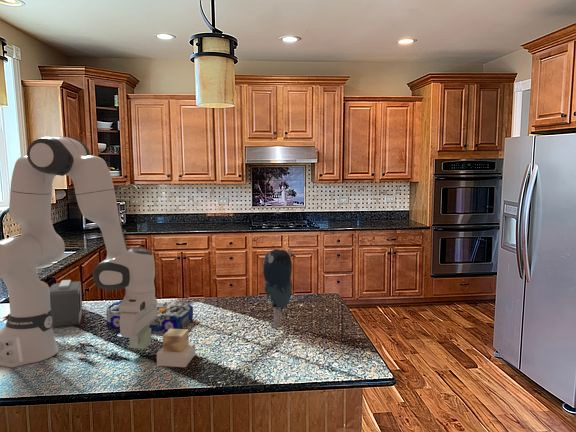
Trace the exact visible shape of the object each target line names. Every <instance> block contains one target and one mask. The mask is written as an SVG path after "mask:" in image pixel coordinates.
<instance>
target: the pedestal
mask: <svg viewBox="0 0 576 432" xmlns="http://www.w3.org/2000/svg"><path fill="white" fill-rule="evenodd" d="M195 355H196V343H195V342H189V345H188V346H187V347H186V348H185V349H184V351H183V352H167V351H163V346H162V347H161V348H160V349H159V350H158V351H157V352H156V366H158V367H160V366H161V367H176V368H186V367H187V366H188V365H189V363H190V362H191V361H192V359H193V358H194V357H195Z"/></svg>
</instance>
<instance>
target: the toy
mask: <svg viewBox="0 0 576 432" xmlns="http://www.w3.org/2000/svg"><path fill="white" fill-rule="evenodd" d="M291 251H292V250H291V249H289V250H288V251H287V250H285V249H279V248H276V249H273V250H269V252H267V253H265V256H264V262H263V267H262V268H263V269H262V270H263V277H264V282H265V283H264V289H263V290H264V292H265V294H266V297H267V299H266V300H267V301H268V300H269V298H270V306H271V307H273V313H274V317H273V319H274V320H273V322H272V321H271V323H270V327H272V328H273V329H274V328H275V329H278V328H279V327H282V324H281V323H282V322H281V321H282V316H283V315H282V312H284V309H285V308H286V310H289V309H288V304H289V303H290V300H291V297H292V296H293V293H292V287H293V286H292V285H293V283H292V279H291V278H292V277H291V276H292V271H293V270H292V269H293V263H292V259H291V257H292V252H291Z"/></svg>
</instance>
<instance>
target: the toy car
mask: <svg viewBox="0 0 576 432" xmlns="http://www.w3.org/2000/svg"><path fill="white" fill-rule="evenodd" d="M122 300H123V299H121V300H119V301H117V302H113V303H112V304H110V305H108V307H107V308H106V315H105V316H106V327H108V328H111V327H112V328H113V329H119V330H120V314H121V312H120V311H119V305H120V303H121V302H122ZM177 302H178V303H177ZM157 310H158V313H157V317H156V318H155V319H153V320H152V321H151V322H150V326H149V328H151V332H159V331H162V330H163V331H164V332H165V333H166V332H167V331H168V330H169V329H186V327H187V326H188V325H189V324H190V323H192V321H193V320H194V319H193V318H194V306H193V305H191V304H189V303H187V302H184V301H182V300H180V299H177V300H173V301H171V302H170V303H167V302H165V303H162V302H161V303H160V302H157ZM163 331H162V332H163Z"/></svg>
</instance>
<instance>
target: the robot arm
mask: <svg viewBox="0 0 576 432" xmlns="http://www.w3.org/2000/svg"><path fill="white" fill-rule="evenodd" d="M12 170H13V171H12V174H11V181H10V187H9V190H10V192H9V203H8V204H9V206H8V207H9V208H8V212H9V213H8V214H9V217H10V218H11V219H12V220H13V221H14V222H17V223H18V224H19V228H20V231H21V233H20V235H19V236H12V237H6V238H4V239H0V279H1V280H2V281H3V283H4V285H5V287H6V290H7V293H8V301H9V310H10V311H9V313H8V314H7V315H5V316H4V317H2V322H4V321H6V322H5V325H4V326H3V327H2V328H1V329H0V367H7V368H17V367H20V366H23V365H27V364H34V363H37V362H41V361H42V362H43V361H45V360H47V359H50V358H51V357H52V358H53V356H55V355H57V353H58V352H59V347H58V344H57V342H56V338H55V335H54V329H53V328H54V327H52V324H53V314H52V309H51V306H50V286H49V284H48V283H47V282H45V281H43V280H41V279H40V278H39V276H38V273H37V268H40V267H44V266H48V265H51V264H53V263H55V261H58V260H59V259H60V258H62V256H63V255H64V253H65V249H66V246H65V242H64V239H63V238H62V237H61V236H60V235H59V234H58V233H57V232H56V230H55V228H54V225H53V220H52V194H53V183H54V182H53V181H54V179H55V177H56V176H60V177H62V176H63V177H65V176H68V177H69V178H70V179H71V181H72V182H73V187H74V193H75V197H76V202H77V205H78V208H79V210H80V212H81V215H82V216H83V217H84V218H86V220H89V221H91V222H93V223H94V224H96V225H97V226H98V228H99V229H100V231H101V234H102V238H103V242H104V245H105V249H106V258H105V259H103V260H102V261H101V262H99V263H98V264H97V265H96V266H95V268H94V269H93V271H92V279H93V282H94V283H95V285H96V286H97V287H98V288H100V289H101V290H103V291H115V290H120V289H125V295H124V297H123V299H121V300H122V302H121V303H120V304H119V311H120V312H121V314H120V329H119V332H120V335H121V337H122V338H128V339H130V338H132V344H133V345H138V344H139V343H140V338H138V334H139V331H141V330H142V329H143V328H149V326H150V322H151V321H152V320H153V319H155V318H156V317H157V313H158V310H157V303H158V300H157V299H158V298H157V297H156V286H155V283H154V282H155V278H156V266H155V265H156V264H155V256H154V254H153V252H152V251H151V250H148V249H147V248H143V247H130V248H128V246H127V242H126V239H125V234H124V231H123V226H122V223H121V219H120V215H119V210H118V209H119V208H118V203H117V198H116V197H117V196H116V192H115V187H114V182H113V178H112V175H111V172H110V169H109V167H108V165H107V162H106V161H105V159H104V158H102V157H100V156H96V155H91V152H90V149H89V147H88V146H87V145H86V144H85V143H84V142H83V141H81V140H79V139H77V138H71V137H67V136H43V137H39V138H37V139H34V140H33V141H32V142H31V143H30V144H29V146H28V147H27V150H26V155H22V156H20V157H19V158H17V159H16V161H15V162H14V166H13V169H12Z"/></svg>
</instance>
